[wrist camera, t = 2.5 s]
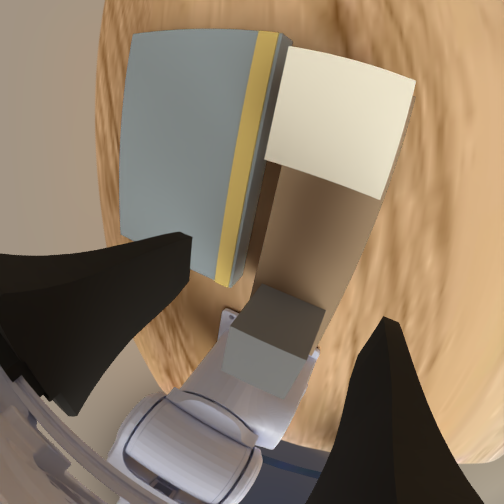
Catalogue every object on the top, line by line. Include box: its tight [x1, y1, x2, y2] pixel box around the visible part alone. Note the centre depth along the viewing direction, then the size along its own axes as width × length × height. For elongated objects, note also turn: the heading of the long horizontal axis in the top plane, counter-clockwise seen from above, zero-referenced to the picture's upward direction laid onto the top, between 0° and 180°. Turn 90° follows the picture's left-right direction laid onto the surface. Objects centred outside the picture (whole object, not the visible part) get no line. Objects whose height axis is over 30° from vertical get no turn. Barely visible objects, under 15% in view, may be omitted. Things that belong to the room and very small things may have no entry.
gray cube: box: [221, 283, 326, 400], centre depth 16 cm, size 4×4×4 cm
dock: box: [119, 29, 293, 288], centre depth 20 cm, size 12×18×2 cm, turn 169°
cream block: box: [264, 46, 416, 200], centre depth 9 cm, size 4×4×4 cm
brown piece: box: [250, 96, 416, 356], centre depth 16 cm, size 5×16×5 cm, turn 169°
